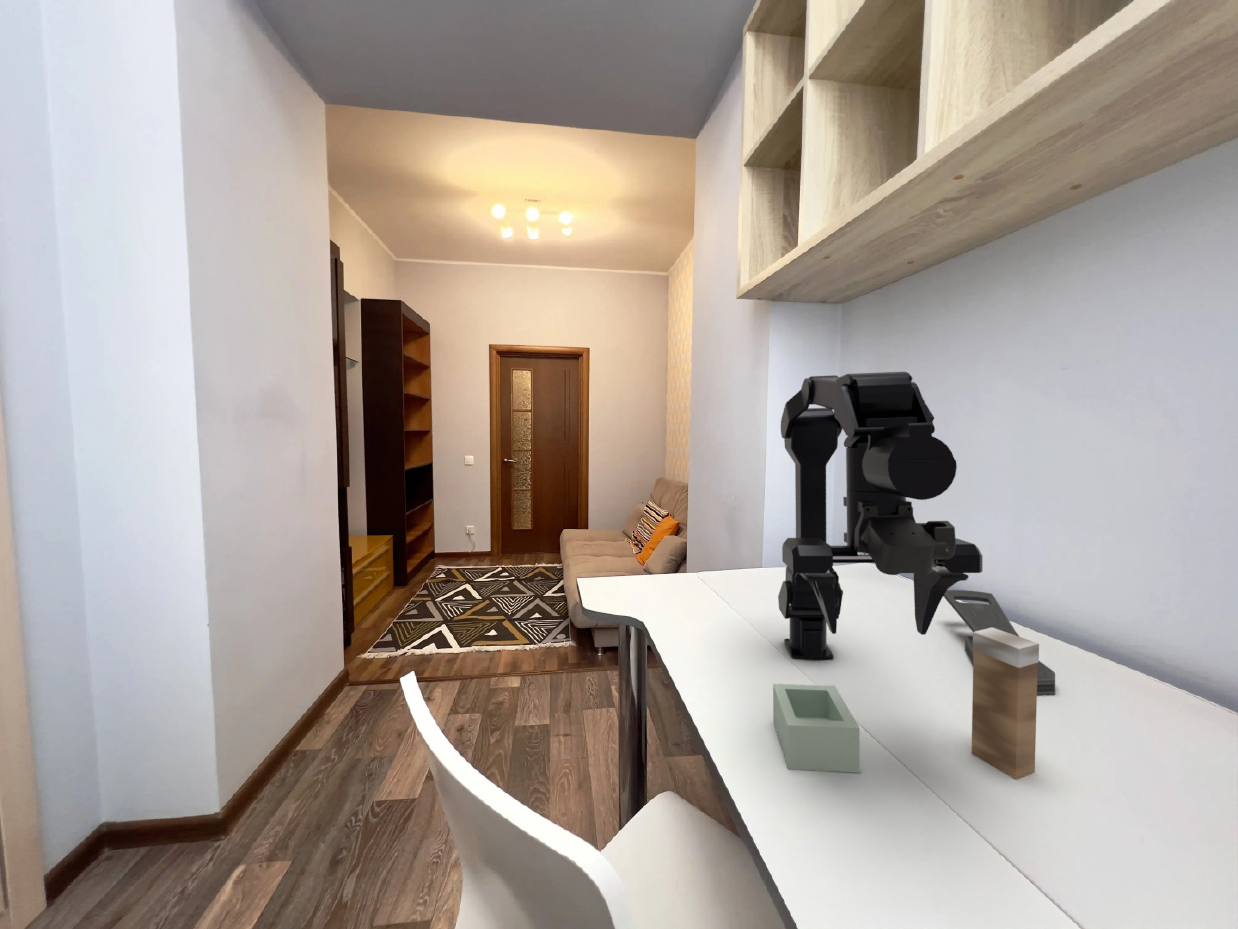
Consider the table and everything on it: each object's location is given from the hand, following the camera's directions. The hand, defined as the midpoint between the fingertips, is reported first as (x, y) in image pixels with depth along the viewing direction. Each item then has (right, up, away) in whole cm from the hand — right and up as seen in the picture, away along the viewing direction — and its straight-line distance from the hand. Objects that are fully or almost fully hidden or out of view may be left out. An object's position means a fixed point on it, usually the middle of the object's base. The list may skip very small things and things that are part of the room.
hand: (876, 633), depth 55 cm
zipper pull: (+31, -12, +25) cm, 42 cm away
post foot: (-5, -15, +4) cm, 16 cm away
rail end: (+14, -14, 0) cm, 20 cm away
